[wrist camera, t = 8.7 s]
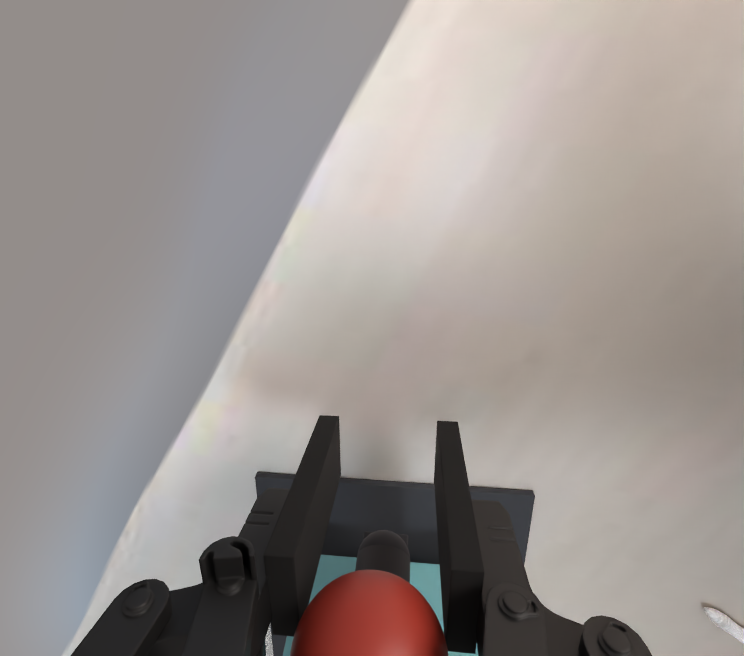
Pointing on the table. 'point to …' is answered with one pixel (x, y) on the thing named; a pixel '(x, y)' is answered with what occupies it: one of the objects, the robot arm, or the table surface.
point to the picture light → (725, 623)
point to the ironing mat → (396, 516)
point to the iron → (373, 605)
